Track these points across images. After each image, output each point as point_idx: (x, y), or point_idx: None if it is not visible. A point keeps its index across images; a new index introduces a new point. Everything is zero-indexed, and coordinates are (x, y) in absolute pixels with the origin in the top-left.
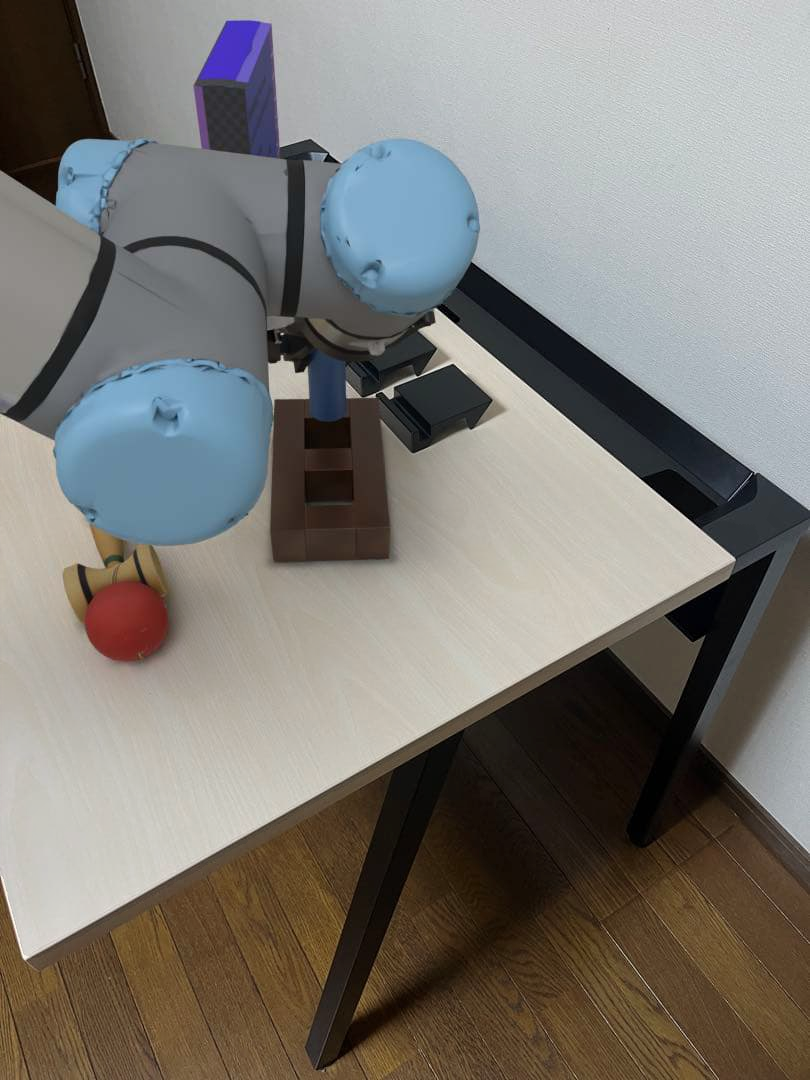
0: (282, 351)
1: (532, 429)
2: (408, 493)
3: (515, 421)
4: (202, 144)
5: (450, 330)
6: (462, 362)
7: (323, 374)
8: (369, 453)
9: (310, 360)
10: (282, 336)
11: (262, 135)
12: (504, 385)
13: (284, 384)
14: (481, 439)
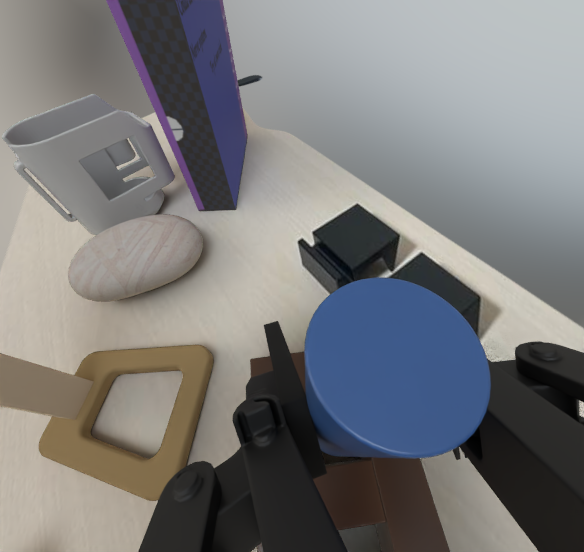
0: (246, 548)
1: (544, 337)
2: (441, 481)
3: (519, 326)
4: (115, 16)
5: (405, 212)
6: (429, 249)
7: (349, 456)
8: (402, 472)
9: (326, 473)
10: (240, 502)
11: (204, 18)
12: (483, 274)
13: (260, 297)
14: (494, 360)
